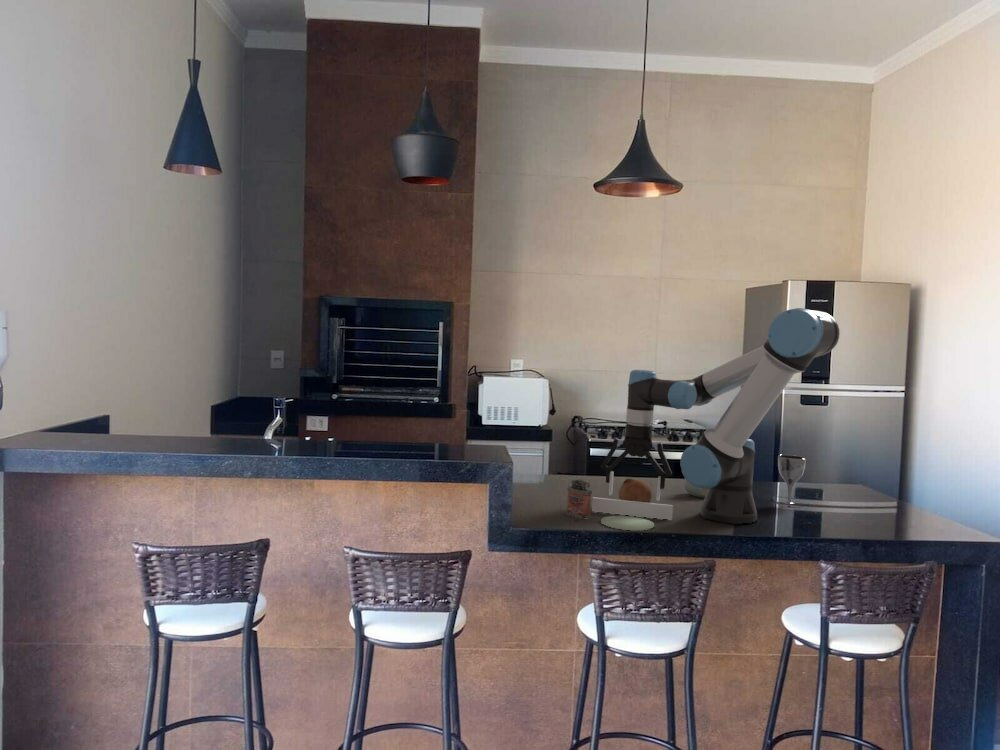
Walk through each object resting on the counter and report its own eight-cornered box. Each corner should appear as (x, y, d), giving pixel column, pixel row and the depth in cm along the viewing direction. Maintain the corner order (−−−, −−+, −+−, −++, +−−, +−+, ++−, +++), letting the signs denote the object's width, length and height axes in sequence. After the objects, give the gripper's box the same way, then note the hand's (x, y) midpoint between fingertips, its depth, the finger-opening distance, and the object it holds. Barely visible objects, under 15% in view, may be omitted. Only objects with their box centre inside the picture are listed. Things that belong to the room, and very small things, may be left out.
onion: (620, 519, 227) (606, 487, 227) (641, 506, 233) (627, 475, 233) (643, 514, 220) (629, 481, 220) (664, 501, 225) (649, 469, 226)
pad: (656, 520, 214) (656, 519, 214) (651, 533, 201) (651, 531, 201) (604, 515, 218) (605, 513, 218) (597, 527, 205) (597, 525, 205)
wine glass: (803, 509, 237) (806, 459, 236) (775, 506, 239) (778, 457, 238) (802, 503, 244) (805, 455, 243) (775, 500, 247) (778, 453, 246)
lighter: (563, 513, 218) (565, 477, 217) (572, 512, 220) (573, 476, 220) (584, 519, 212) (586, 483, 211) (593, 518, 214) (595, 482, 214)
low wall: (672, 519, 217) (672, 505, 216) (671, 520, 215) (672, 506, 215) (592, 511, 223) (593, 497, 222) (591, 512, 221) (592, 497, 221)
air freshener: (708, 492, 256) (709, 462, 255) (724, 498, 248) (725, 466, 247) (679, 493, 252) (681, 462, 251) (694, 499, 244) (696, 467, 243)
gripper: (684, 426, 225) (678, 499, 227) (597, 418, 232) (593, 489, 234) (683, 429, 218) (677, 505, 220) (593, 421, 225) (588, 494, 226)
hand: (633, 497), depth 227 cm, fingers open, 13 cm apart
